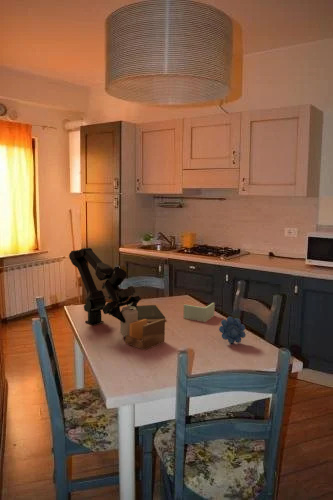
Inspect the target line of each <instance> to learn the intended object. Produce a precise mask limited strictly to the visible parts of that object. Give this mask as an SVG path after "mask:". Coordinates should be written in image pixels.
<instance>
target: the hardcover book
mask: <svg viewBox="0 0 333 500" xmlns="http://www.w3.org/2000/svg"><path fill="white" fill-rule="evenodd" d="M137 311H138V321H140V320H143V319H147V323H152V322H155V321H158V320H160V319H165V320H166V316H165V315H164V314H163V312H162V311H161V310H160V309H159V308H158V306H157V305H156V304H145V305H143V304H142V305H137Z"/></svg>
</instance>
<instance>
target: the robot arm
mask: <svg viewBox="0 0 333 500" xmlns="http://www.w3.org/2000/svg"><path fill="white" fill-rule="evenodd" d="M68 258H69V260H70V262H71V264H72V266H74V267H75V268H77V270H78V273H79V276H80V278H81V280H82V283H83V285H84V288H85V291H86V299H85V300H86V303H85V304H84V305H83V310H84V312H87V320H85V322H84V323H86V324H89V325H92V326H96V325H98V324H102V323H104V320H102V312H103V314H104V315H107V314H108V315H109V316H112V317H113V318H115V319H118V321H120V322H123V323H125V322H126V321H125V319H124V317H123V315H122V313H121V307H127V306H132V307H136V310H137V306H138V303H139V302H140V301H141V300H142V298H141V297H140V295H138V294H136V295H135V293H136V289H135V287H134V286H133V285H131V286H130V285H129V286H128V287H127V288H125V289H124V288H121V287H120V285H121V284H122V283H123V282H124V281H125V279H126V278H127V271H125V270H124V269H123V268H120V266H114V267H112V266H111V265H109V264H107V263H104V262H103V261H102V260H101V258H99V256H98V255H97V254H96V253H95V252H94V251H93V249H92V248H91V247H84V248H80V249H75V250H71V251H70V253H69V254H68ZM88 263H89V264H90V266H91V267H92V268H93V270H94V272H95V274H94V275H95V276H96V277H97V279H98V281H104V282H102V286H101V289H102V290H99V289H98V288H97V285H96V283H95V281H94V278H93V275H92V274H91V270H90V268H89V266H88ZM104 289H105V291H106V292H107V294H108V295H109V296H108V299H109V300H111V301H108V302H107V300H106V296H105V295H104V292H103V290H104ZM130 296H131V297H130Z"/></svg>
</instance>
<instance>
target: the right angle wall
mask: <svg viewBox="0 0 333 500" xmlns="http://www.w3.org/2000/svg"><path fill="white" fill-rule="evenodd" d="M215 305H216V302H211V303H210V304H208V305H207V306H205V307H203V306H197V305H190V304H185V303H184V304H183V319H187V320H192V321H196V320H197V322H202V321H203V323H206V322H208V321H209V320H210V319H212V318H213V317H215V307H216V306H215ZM212 316H213V317H212ZM211 317H212V318H211ZM207 320H208V321H207Z"/></svg>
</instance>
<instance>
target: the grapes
mask: <svg viewBox="0 0 333 500" xmlns="http://www.w3.org/2000/svg"><path fill="white" fill-rule="evenodd" d="M220 324H221V326H219V328H218V331H219V332H220V333H221V338H222V339H223V340H225V341H226V340H227V341H228V343H229V344H231V343H233V344H235V343H238V344H240V343H241V342H242V339H244V338H245V337H246V332H245V330H246V325H244V324H243V323H242V322H241V319H240V318H237V317H236V318H234V317H233V316H228V317H227V318H226V319H222V320H221V322H220Z"/></svg>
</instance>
